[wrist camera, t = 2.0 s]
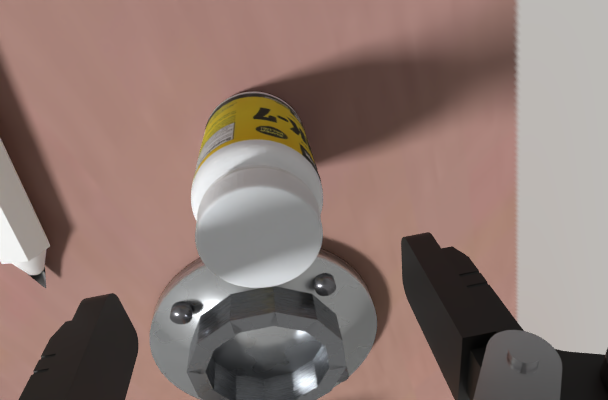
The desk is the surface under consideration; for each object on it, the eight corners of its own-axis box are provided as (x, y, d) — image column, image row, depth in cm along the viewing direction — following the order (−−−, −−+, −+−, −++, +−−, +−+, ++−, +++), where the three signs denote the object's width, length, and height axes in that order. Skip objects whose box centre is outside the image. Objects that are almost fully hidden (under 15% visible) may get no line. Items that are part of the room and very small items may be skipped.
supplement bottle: (323, 135, 20) (366, 237, 13) (258, 196, 22) (264, 319, 15) (251, 65, 18) (255, 143, 11) (183, 138, 20) (148, 249, 12)
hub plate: (117, 266, 23) (100, 309, 20) (364, 218, 23) (380, 254, 21) (191, 409, 30) (185, 454, 28) (377, 371, 31) (390, 412, 28)
